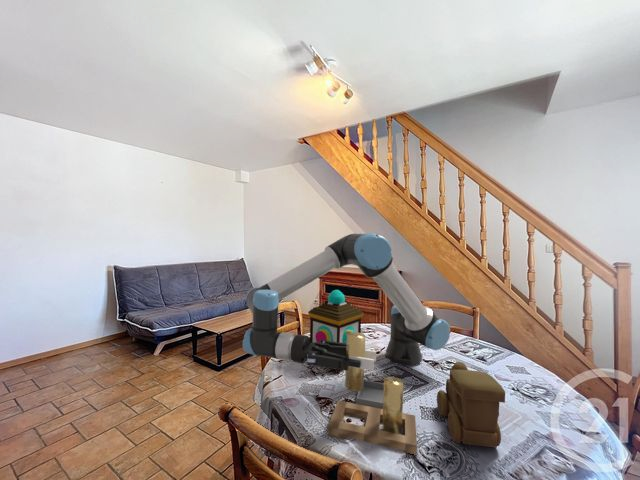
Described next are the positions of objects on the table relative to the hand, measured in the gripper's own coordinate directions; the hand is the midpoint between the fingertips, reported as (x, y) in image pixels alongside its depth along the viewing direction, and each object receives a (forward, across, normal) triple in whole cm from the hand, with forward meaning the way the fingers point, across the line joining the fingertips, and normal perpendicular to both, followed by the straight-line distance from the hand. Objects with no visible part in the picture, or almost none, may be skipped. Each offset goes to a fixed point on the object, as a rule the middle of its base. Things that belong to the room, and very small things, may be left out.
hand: (374, 360), depth 75 cm
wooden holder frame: (0, 0, -19) cm, 19 cm away
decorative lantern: (-19, -37, -19) cm, 46 cm away
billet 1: (-5, 0, -8) cm, 9 cm away
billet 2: (+5, 0, -19) cm, 20 cm away
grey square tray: (0, -15, -19) cm, 24 cm away
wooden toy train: (+25, -9, -19) cm, 32 cm away
